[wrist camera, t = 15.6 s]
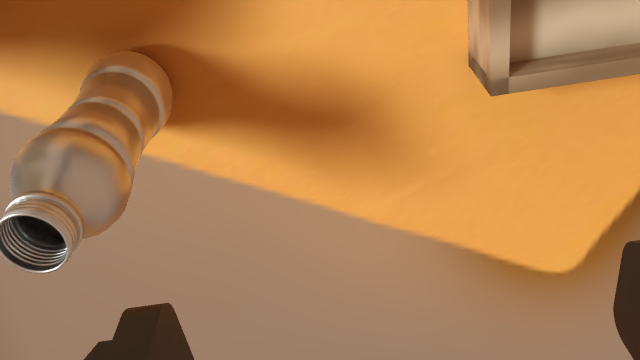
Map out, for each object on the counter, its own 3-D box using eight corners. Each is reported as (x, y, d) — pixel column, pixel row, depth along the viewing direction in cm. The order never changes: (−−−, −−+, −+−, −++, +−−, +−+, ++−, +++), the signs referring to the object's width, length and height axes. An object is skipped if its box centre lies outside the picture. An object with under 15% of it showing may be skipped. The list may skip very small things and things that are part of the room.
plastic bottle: (179, 48, 42) (96, 192, 25) (177, 128, 46) (104, 301, 29) (91, 36, 42) (-54, 176, 25) (96, 118, 45) (-28, 290, 28)
